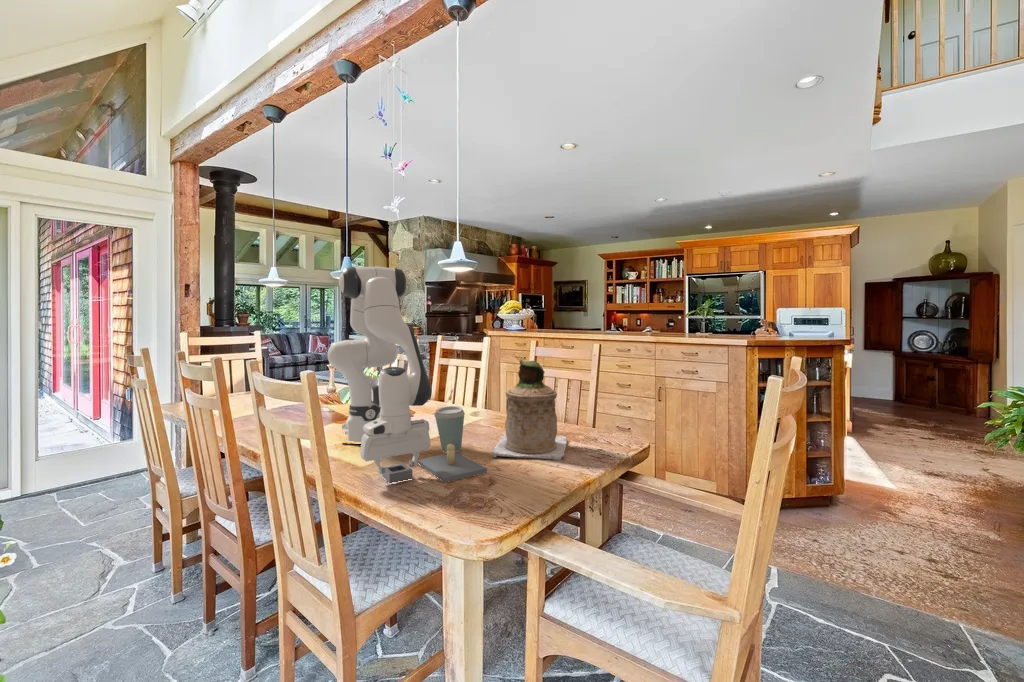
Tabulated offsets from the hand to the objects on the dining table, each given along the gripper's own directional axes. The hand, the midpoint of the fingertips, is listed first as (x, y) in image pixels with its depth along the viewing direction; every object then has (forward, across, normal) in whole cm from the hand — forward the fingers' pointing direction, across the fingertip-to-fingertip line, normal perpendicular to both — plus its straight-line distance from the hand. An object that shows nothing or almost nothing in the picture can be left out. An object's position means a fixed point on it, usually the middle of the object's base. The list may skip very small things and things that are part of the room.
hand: (397, 469), depth 137 cm
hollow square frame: (+3, 0, 0) cm, 3 cm away
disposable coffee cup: (+3, -25, -16) cm, 30 cm away
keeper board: (+3, -17, +1) cm, 17 cm away
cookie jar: (+3, -49, -1) cm, 49 cm away
